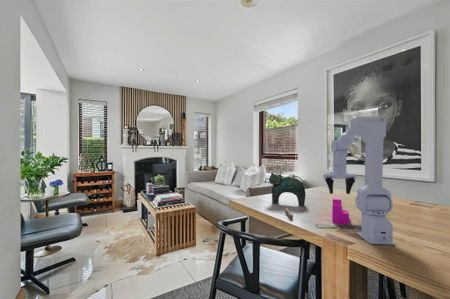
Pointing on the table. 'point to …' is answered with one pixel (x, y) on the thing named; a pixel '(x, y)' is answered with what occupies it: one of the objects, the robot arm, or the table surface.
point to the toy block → (339, 213)
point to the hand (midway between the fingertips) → (339, 193)
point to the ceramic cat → (287, 187)
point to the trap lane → (325, 224)
